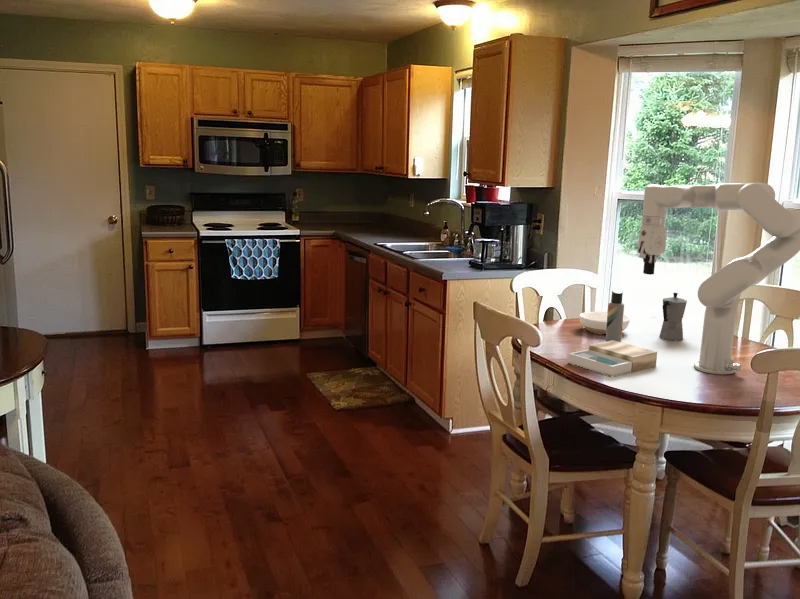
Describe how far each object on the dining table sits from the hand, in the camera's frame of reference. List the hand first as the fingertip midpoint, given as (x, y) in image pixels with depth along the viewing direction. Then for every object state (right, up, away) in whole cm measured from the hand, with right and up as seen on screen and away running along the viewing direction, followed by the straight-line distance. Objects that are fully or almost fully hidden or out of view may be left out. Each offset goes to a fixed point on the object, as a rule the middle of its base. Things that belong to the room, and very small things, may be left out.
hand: (648, 273), depth 256 cm
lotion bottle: (-6, -26, +21) cm, 34 cm away
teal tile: (-19, -29, -17) cm, 38 cm away
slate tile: (-25, -28, -10) cm, 39 cm away
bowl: (-5, -22, +39) cm, 45 cm away
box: (-21, -32, -13) cm, 40 cm away
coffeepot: (+19, -24, +31) cm, 44 cm away
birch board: (-11, -30, -6) cm, 33 cm away
